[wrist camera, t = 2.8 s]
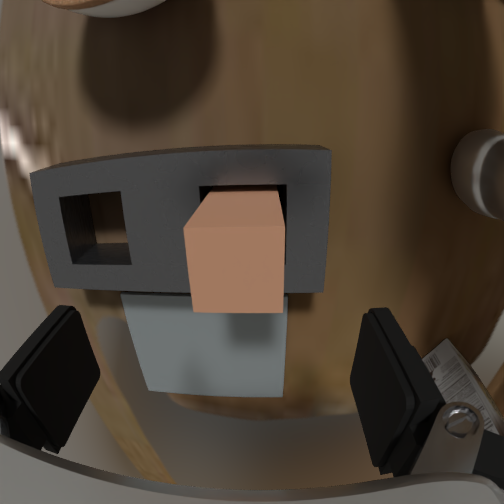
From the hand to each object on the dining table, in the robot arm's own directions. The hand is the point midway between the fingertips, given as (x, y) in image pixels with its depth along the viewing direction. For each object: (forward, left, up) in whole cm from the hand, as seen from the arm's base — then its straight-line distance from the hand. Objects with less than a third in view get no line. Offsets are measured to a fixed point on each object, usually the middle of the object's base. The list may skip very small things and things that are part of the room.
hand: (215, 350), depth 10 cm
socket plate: (+5, -1, -14) cm, 15 cm away
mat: (+4, +12, -14) cm, 19 cm away
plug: (0, -1, -14) cm, 14 cm away
